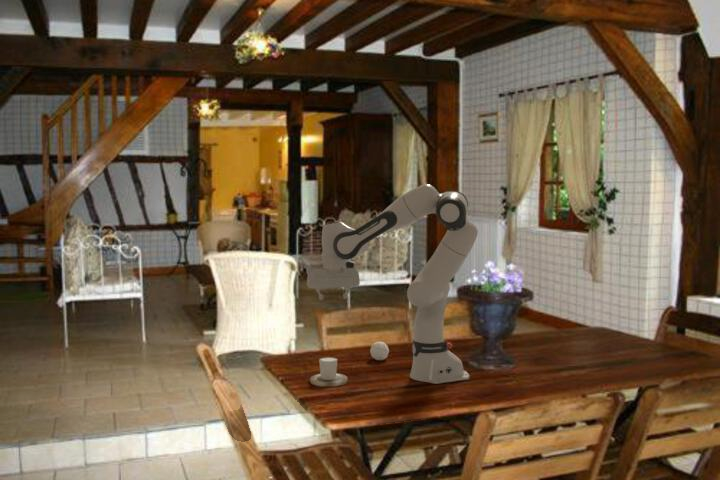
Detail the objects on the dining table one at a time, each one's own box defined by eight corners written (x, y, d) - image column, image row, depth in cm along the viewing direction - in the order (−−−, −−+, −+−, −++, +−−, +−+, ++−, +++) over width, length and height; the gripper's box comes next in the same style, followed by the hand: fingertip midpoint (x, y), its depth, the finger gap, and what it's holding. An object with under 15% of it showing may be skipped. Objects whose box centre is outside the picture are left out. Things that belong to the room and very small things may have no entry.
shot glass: (334, 380, 264) (334, 362, 263) (316, 379, 266) (316, 361, 265) (339, 375, 271) (339, 357, 270) (322, 374, 272) (322, 356, 272)
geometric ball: (376, 367, 297) (365, 353, 295) (378, 355, 304) (368, 342, 302) (391, 359, 294) (380, 345, 292) (393, 348, 301) (382, 334, 299)
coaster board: (343, 375, 276) (343, 371, 276) (350, 385, 262) (350, 382, 262) (307, 377, 273) (307, 374, 273) (313, 388, 260) (313, 384, 259)
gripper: (307, 265, 270) (307, 301, 271) (360, 263, 274) (360, 299, 276) (305, 263, 276) (305, 298, 277) (357, 261, 281) (357, 296, 282)
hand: (333, 299), depth 277 cm, fingers open, 8 cm apart
